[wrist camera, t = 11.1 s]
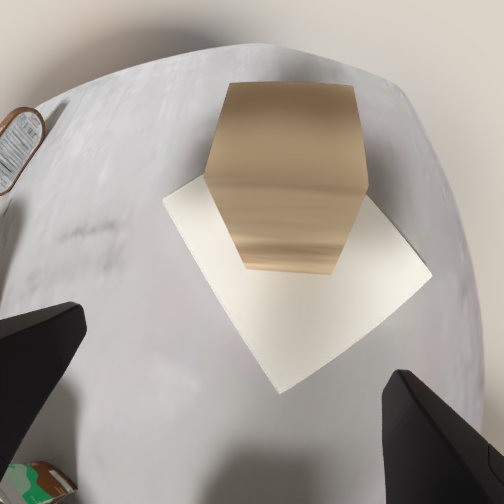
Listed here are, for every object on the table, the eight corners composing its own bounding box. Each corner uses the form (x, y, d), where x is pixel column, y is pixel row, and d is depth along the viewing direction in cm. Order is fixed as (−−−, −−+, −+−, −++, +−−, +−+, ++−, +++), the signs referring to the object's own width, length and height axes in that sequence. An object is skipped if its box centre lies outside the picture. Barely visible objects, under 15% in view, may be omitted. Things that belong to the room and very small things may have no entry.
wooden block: (331, 275, 20) (369, 185, 9) (246, 268, 20) (203, 177, 10) (331, 200, 22) (352, 86, 11) (255, 196, 23) (229, 83, 12)
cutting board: (426, 280, 19) (432, 275, 18) (280, 392, 18) (279, 394, 17) (294, 132, 26) (294, 124, 25) (166, 206, 25) (161, 199, 24)
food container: (49, 433, 18) (-28, 440, 9) (84, 484, 16) (11, 510, 7) (13, 470, 16) (-45, 477, 7) (42, 512, 14) (-15, 528, 5)
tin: (47, 127, 35) (21, 96, 27) (55, 128, 34) (28, 94, 26) (-3, 204, 31) (-37, 178, 23) (2, 208, 30) (-34, 181, 22)
